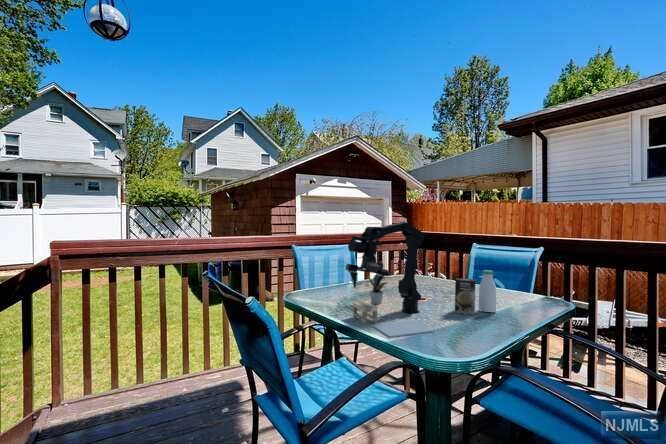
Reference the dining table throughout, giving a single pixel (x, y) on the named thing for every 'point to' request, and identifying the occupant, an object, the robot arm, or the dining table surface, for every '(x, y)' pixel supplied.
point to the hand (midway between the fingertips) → (364, 289)
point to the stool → (365, 311)
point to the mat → (402, 328)
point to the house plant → (376, 292)
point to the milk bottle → (487, 292)
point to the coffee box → (465, 296)
